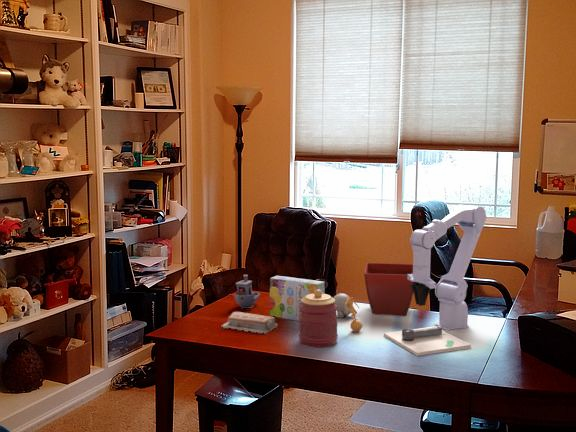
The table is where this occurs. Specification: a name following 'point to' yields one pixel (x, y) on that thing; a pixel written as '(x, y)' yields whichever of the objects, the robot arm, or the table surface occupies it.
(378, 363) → the table surface
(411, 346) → the dial board
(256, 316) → the butter dish
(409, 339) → the lever
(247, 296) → the toy boat
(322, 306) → the canister
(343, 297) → the chubby cartoon animal
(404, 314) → the plant pot
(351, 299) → the figurine
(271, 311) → the snack box
